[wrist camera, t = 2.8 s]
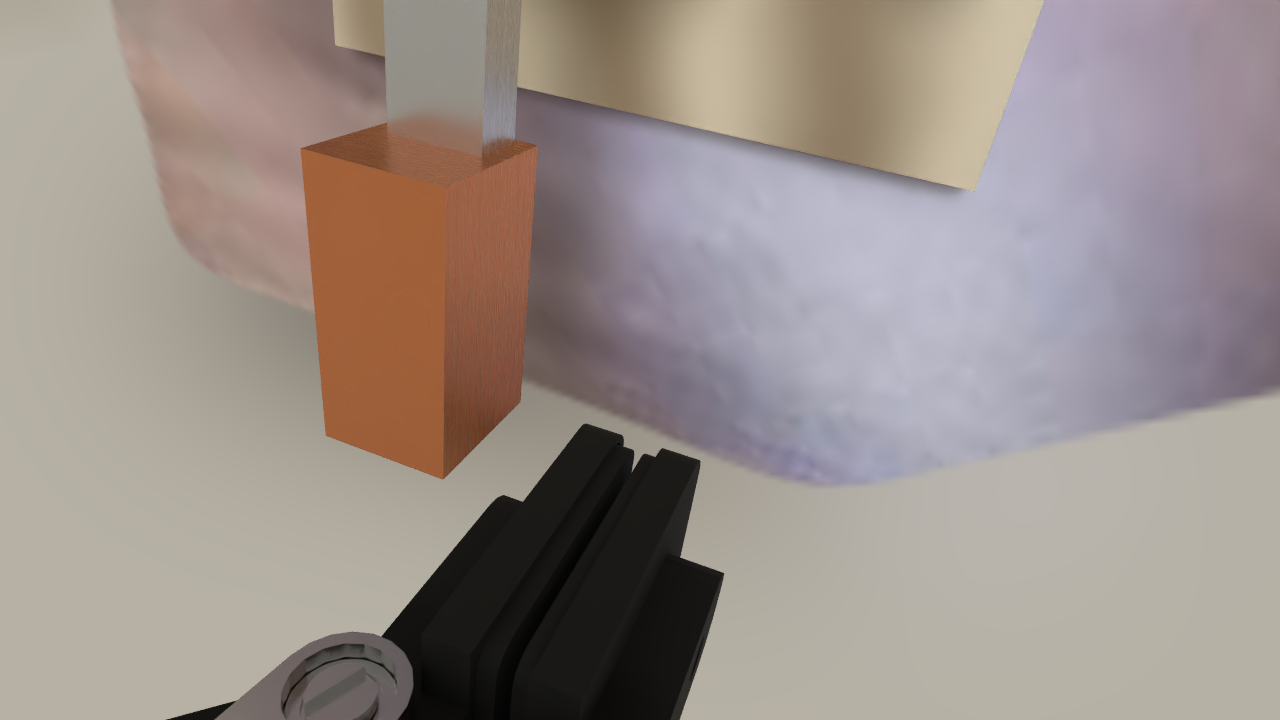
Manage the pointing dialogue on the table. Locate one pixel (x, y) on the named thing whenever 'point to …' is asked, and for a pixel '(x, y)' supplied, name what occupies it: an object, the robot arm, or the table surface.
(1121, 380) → the table surface
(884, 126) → the board
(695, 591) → the robot arm
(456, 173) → the lever
